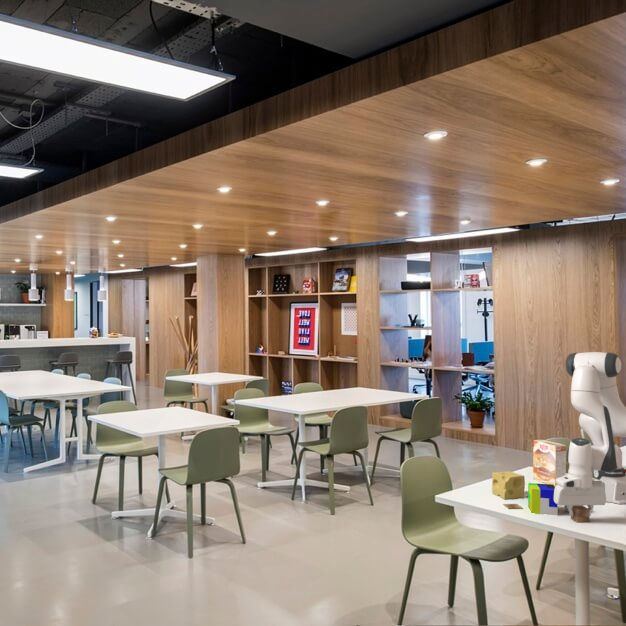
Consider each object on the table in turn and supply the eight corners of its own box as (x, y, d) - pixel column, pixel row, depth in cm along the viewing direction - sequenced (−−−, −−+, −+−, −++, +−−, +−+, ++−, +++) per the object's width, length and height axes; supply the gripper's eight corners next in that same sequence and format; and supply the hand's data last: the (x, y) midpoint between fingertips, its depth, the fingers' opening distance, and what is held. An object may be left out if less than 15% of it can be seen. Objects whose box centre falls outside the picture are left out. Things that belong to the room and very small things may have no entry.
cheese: (504, 500, 274) (504, 477, 274) (490, 493, 284) (491, 471, 284) (525, 498, 277) (525, 475, 277) (510, 492, 287) (511, 470, 287)
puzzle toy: (557, 515, 252) (557, 490, 252) (531, 513, 254) (531, 489, 254) (553, 508, 262) (553, 484, 262) (528, 506, 264) (528, 482, 264)
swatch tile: (516, 504, 266) (516, 503, 266) (522, 508, 260) (522, 507, 260) (503, 504, 266) (503, 504, 266) (509, 509, 260) (509, 508, 260)
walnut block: (582, 518, 249) (582, 505, 249) (589, 522, 244) (589, 509, 244) (570, 518, 248) (570, 505, 249) (577, 522, 243) (577, 509, 244)
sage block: (573, 509, 262) (573, 497, 262) (583, 512, 257) (583, 500, 257) (564, 510, 260) (564, 498, 260) (573, 513, 255) (573, 501, 255)
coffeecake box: (532, 479, 312) (532, 440, 313) (543, 478, 315) (543, 439, 315) (554, 486, 298) (555, 445, 299) (566, 485, 301) (566, 444, 302)
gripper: (600, 478, 251) (600, 513, 250) (551, 479, 249) (551, 514, 248) (609, 482, 244) (609, 518, 244) (559, 483, 242) (559, 519, 242)
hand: (579, 516), depth 246 cm, fingers closed on walnut block, 5 cm apart
